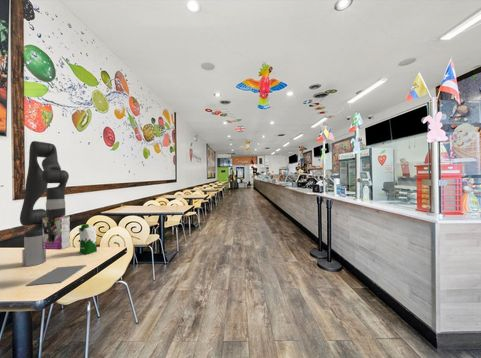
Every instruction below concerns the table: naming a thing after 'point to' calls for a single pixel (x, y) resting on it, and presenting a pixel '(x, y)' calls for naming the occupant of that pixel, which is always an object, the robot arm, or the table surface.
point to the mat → (57, 275)
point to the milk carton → (87, 239)
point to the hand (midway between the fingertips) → (56, 239)
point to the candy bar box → (58, 234)
